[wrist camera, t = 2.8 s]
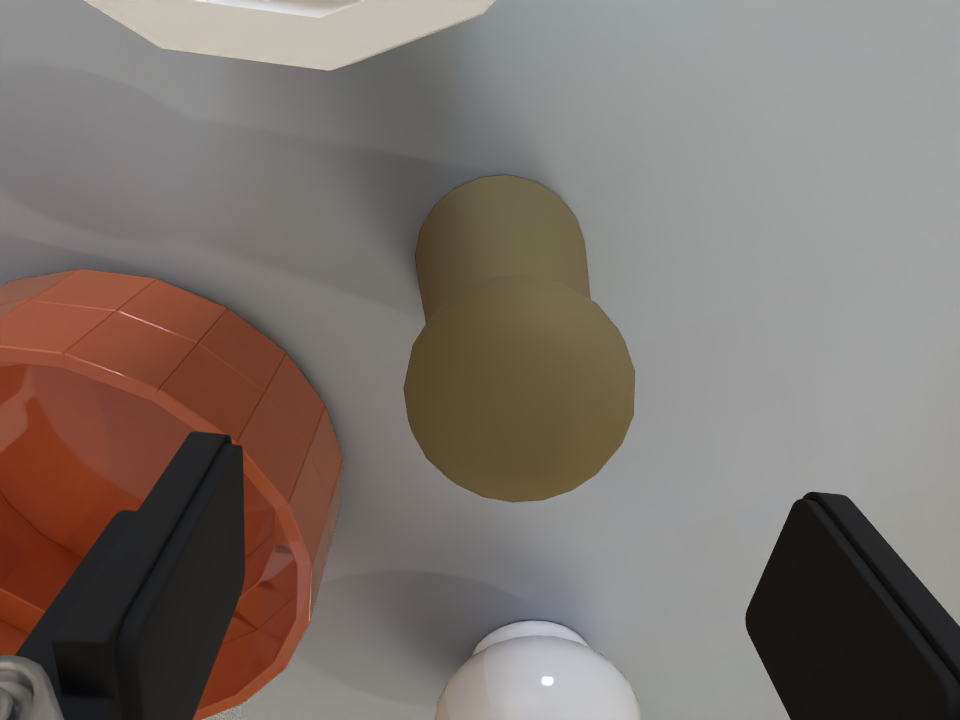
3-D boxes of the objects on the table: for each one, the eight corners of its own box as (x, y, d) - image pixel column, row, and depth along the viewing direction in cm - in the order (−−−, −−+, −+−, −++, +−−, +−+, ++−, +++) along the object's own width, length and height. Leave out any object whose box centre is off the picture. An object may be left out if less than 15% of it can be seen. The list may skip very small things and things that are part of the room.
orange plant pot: (-115, 236, 22) (-318, 309, 17) (355, 296, 24) (319, 382, 18) (-22, 580, 29) (-142, 715, 24) (335, 611, 31) (305, 747, 25)
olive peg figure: (440, 354, 25) (422, 567, 15) (393, 198, 22) (334, 333, 12) (597, 318, 24) (686, 515, 14) (570, 155, 22) (655, 260, 12)
